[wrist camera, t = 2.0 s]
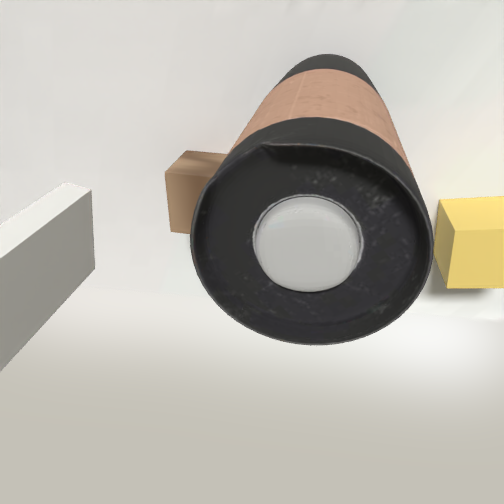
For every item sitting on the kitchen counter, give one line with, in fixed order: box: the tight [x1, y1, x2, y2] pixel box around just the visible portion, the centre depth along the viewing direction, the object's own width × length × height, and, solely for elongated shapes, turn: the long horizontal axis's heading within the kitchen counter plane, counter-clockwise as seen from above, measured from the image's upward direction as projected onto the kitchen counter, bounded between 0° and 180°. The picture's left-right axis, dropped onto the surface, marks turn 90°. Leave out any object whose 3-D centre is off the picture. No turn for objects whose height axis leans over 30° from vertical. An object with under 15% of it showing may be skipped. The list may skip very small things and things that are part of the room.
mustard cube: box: [433, 196, 504, 288], centre depth 29 cm, size 5×5×5 cm
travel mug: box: [190, 54, 434, 345], centre depth 20 cm, size 8×8×20 cm
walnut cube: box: [165, 150, 228, 234], centre depth 31 cm, size 5×5×5 cm
